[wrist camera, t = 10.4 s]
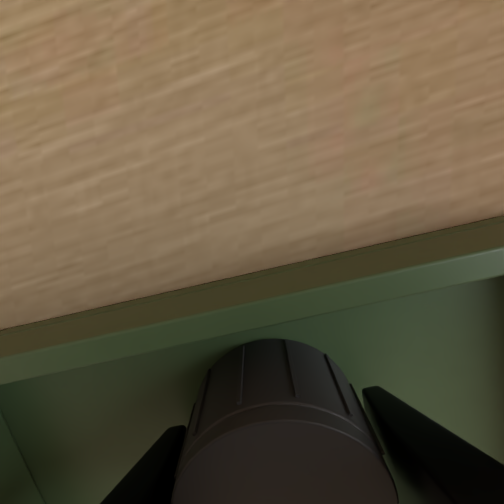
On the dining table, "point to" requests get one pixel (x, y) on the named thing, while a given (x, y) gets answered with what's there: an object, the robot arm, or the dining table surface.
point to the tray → (245, 331)
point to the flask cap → (280, 433)
